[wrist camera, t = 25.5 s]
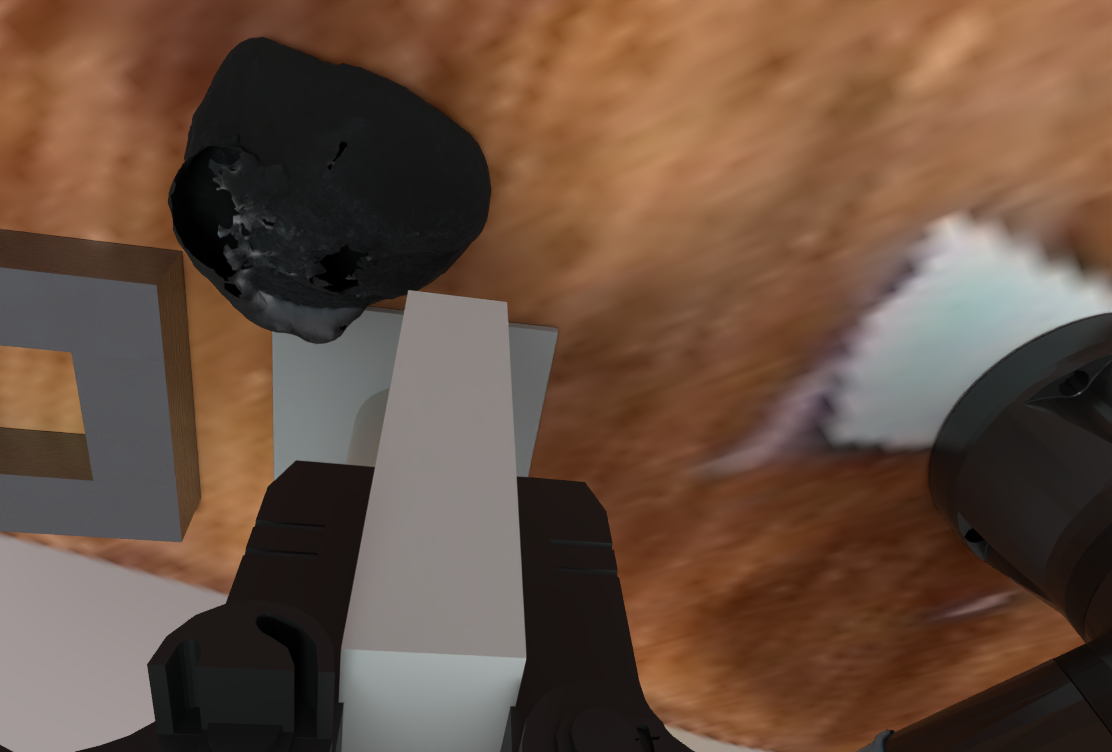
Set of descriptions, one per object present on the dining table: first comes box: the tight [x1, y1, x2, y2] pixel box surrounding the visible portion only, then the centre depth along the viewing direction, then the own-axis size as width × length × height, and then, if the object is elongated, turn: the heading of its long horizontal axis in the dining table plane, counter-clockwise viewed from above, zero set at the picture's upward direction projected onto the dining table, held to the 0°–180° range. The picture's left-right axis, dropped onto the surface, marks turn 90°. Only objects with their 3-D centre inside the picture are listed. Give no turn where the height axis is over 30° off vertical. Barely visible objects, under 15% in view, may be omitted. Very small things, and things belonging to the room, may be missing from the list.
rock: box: [168, 37, 491, 344], centre depth 28 cm, size 9×10×10 cm
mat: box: [272, 306, 558, 481], centre depth 37 cm, size 12×12×1 cm
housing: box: [0, 229, 201, 542], centre depth 32 cm, size 13×13×3 cm
